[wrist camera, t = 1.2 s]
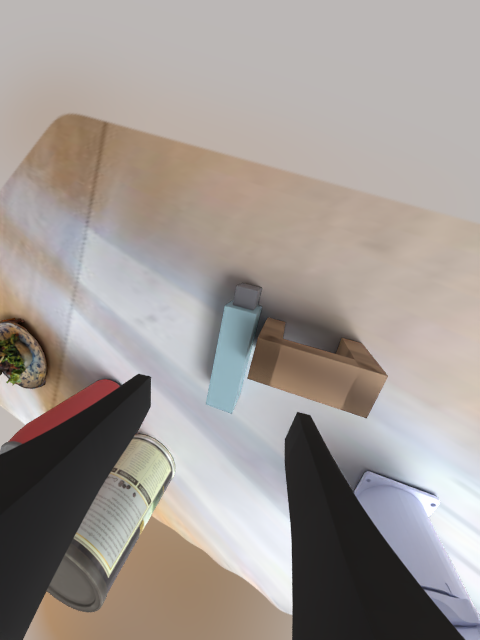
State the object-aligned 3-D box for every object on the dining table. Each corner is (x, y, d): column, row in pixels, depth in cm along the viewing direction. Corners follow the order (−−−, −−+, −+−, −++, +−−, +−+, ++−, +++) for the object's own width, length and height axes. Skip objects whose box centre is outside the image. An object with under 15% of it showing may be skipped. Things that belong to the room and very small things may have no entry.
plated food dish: (56, 394, 37) (1, 425, 30) (4, 367, 38) (-61, 391, 31) (58, 333, 33) (-7, 353, 26) (-1, 306, 34) (-76, 318, 27)
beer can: (103, 413, 35) (11, 486, 24) (90, 377, 33) (-15, 437, 22) (136, 414, 33) (54, 494, 22) (124, 376, 31) (28, 441, 20)
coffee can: (180, 489, 35) (111, 627, 22) (128, 477, 38) (38, 594, 24) (171, 438, 32) (85, 560, 19) (115, 429, 35) (7, 531, 22)
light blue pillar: (239, 394, 27) (231, 413, 24) (216, 386, 28) (205, 404, 24) (266, 288, 23) (261, 294, 19) (238, 281, 23) (228, 285, 20)
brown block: (347, 375, 23) (366, 418, 17) (259, 348, 25) (247, 378, 19) (361, 343, 22) (388, 376, 16) (267, 317, 24) (257, 337, 17)
